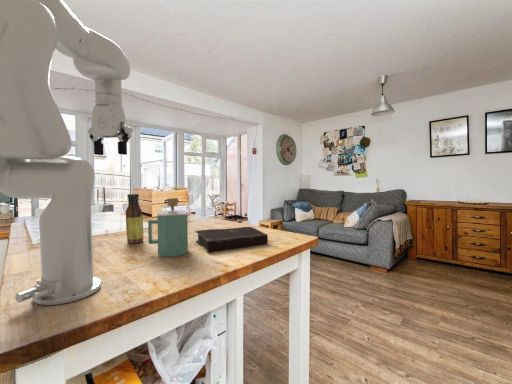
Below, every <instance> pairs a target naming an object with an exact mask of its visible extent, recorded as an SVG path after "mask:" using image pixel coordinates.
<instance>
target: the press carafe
mask: <svg viewBox="0 0 512 384" xmlns="http://www.w3.org/2000/svg"><path fill="white" fill-rule="evenodd" d="M156 218H157V219H148V220H147V223H148V224H147V225H148V226H147V227H148V232H147V233H148V245H154V244H157V254H158V256H159V257H162V258H175V257H176V258H177V257H182V256H184V255H186V254H188V252H189V249H188V247H189V244H188V242H189V240H188V238H189V237H188V212H187V211H186V210H185V209H182V210H180V209H179V210H177V209H175V210H174V213H171V210H160V211H159V212H158V213H157V217H156ZM153 224H157V238H154V239H153Z"/></svg>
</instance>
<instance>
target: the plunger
mask: <svg viewBox="0 0 512 384" xmlns="http://www.w3.org/2000/svg"><path fill="white" fill-rule="evenodd" d="M166 200H167V203H166V204H167V207H170V211H171V213H174V211H175V207H177V206H178V197H167V198H166Z"/></svg>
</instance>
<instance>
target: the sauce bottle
mask: <svg viewBox="0 0 512 384" xmlns="http://www.w3.org/2000/svg"><path fill="white" fill-rule="evenodd" d="M139 197H140V196H139V193H128V194H127V201H128V206H127V208H126V210H125V228H126V229H125V230H126V231H125V232H126V241H127V244H140V243H143V242H144V219H143V218H144V217H143V216H144V215H143V212H142V208H141V206H140V203H139Z"/></svg>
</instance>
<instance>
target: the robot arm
mask: <svg viewBox="0 0 512 384" xmlns="http://www.w3.org/2000/svg"><path fill="white" fill-rule="evenodd" d="M55 50H56V51H58V52H59V53H61V54H62V55H63V56H65V57H68V58H71V59H72V62H73V65H74V68H75V69H76V70H77V72H78V73H79V74H80V75H82V76H83V77H84V78H87V79H90V80H91V81H94V95H95V96H94V103H95V105H94V106H93V108H92V115H91V127H90V128H88V129H87V134H88V136H89V139H90V140H91V142H92V143H93V154H94V155H97V156H103V155H104V143H102V142H103V141H104V139H105V138H107V139H110V138H117V139H118V141H117V153H118V155H123V156H125V155H126V156H127V155H128V148H127V147H128V144H127V143H129V140H130V139H131V137H132V134H133V131H134V128H133V127H131V126H129V125H127V123H126V122H127V121H126V115H125V111H124V107H123V102H122V101H123V100H122V99H123V98H122V94H123V93H122V81H125V80H127V79H128V78H129V77H130V75H131V66H130V62H129V60H128V58H127V56H126V54H125V53H124V51H123V50H122V48H121V47H120V46H119V44H117V43H116V42H115V41H114V40H112V39H110V38H108V37H107V36H104V35H102V34H100V33H99V32H96V31H95V30H93V29H91V28H89V27H86V26H84V25H83V23H82V22H81V20H79V19H78V17H77V16H76V14H74V13H73V12H72V10H71V9H70V8H69V7H68V5H67V4H66V2H64V1H63V0H0V193H1V194H3V195H5V196H7V197H10V198H12V199H13V198H14V199H27V200H28V199H46V200H47V199H48V200H49V199H50V202H49V203H48V204H47V206H45V208H44V209H43V211H42V212H41V214H40V217H39V220H38V227H39V228H38V229H39V245H40V247H39V248H40V270H41V278H39V279H36V281H35V282H36V283H35V285H33V286H32V287H31V288H29V289H25V290H23V291H20V292H17V293H16V294H15V296H14V298H15V301H16V302H17V303H18V304H19V303H22V302H24V301H27V300H30V299H31V298H32V299H33V302H34V303H35V304H37V305H43V306H55V305H62V304H68V303H72V302H76V301H79V300H81V299H84V298H86V297H89V296H91V295H93V294H94V293H96V292H97V291H98V290H99V289H101V287H102V281H101V279H100V278H98V277H96V276H94V258H93V256H94V255H93V233H92V231H93V230H92V199H93V198H92V197H93V190H94V187H95V186H94V185H95V178H96V177H95V171H94V167H93V165H92V164H91V163H89V162H88V161H87V160H86V159H83V158H81V157H75V156H68V153H69V152H70V151H71V148H72V139H71V136H70V133H69V131H68V128H67V126H66V123H65V121H64V119H63V116H62V114H61V112H60V109H59V106H58V105H57V102H56V100H55V97H54V94H53V92H52V89H51V87H50V86H51V85H50V71H51V66H52V61H53V58H54V57H53V56H54V54H55Z"/></svg>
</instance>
